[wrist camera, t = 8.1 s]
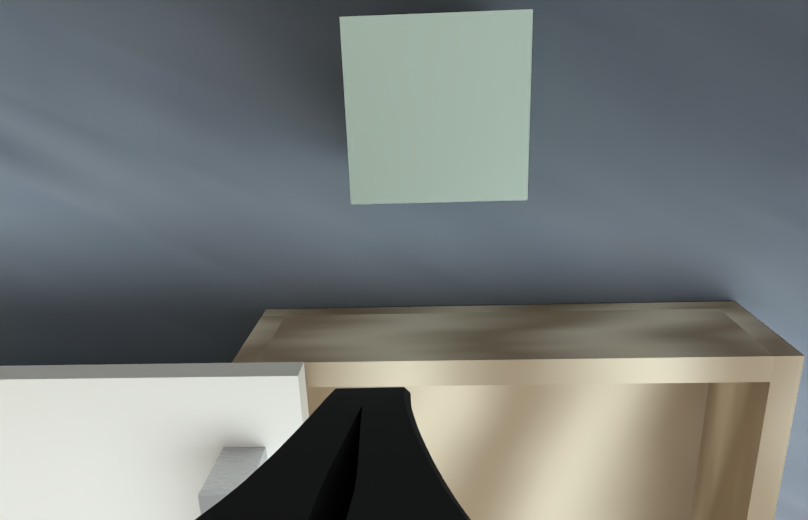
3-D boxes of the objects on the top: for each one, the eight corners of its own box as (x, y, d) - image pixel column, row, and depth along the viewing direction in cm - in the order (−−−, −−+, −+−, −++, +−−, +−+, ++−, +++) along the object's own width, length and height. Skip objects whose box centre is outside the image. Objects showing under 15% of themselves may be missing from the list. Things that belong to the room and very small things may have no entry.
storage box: (735, 301, 21) (804, 355, 17) (689, 620, 25) (736, 720, 21) (265, 309, 21) (231, 363, 18) (300, 617, 26) (278, 714, 22)
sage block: (500, 24, 18) (532, 9, 13) (498, 158, 20) (527, 200, 14) (366, 29, 18) (339, 16, 13) (373, 162, 20) (351, 204, 14)
